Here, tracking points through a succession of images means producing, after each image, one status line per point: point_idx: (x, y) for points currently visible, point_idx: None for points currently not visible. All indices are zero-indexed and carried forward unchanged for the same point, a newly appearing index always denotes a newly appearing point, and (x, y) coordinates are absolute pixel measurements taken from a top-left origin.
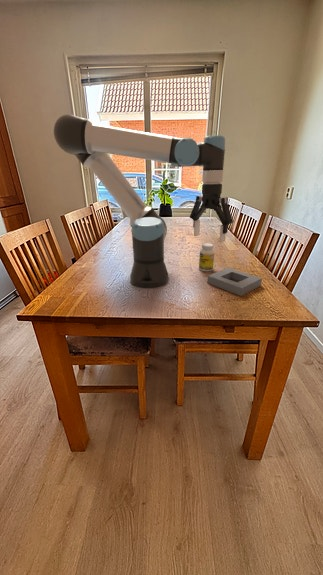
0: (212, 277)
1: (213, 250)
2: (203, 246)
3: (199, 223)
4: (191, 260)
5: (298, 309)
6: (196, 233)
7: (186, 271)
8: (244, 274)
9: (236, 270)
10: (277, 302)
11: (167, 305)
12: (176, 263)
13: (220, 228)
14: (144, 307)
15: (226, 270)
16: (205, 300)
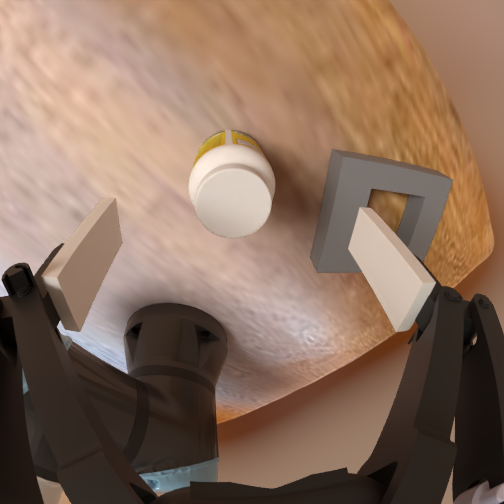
0: (335, 272)
1: (265, 172)
2: (227, 235)
3: (73, 260)
4: (105, 123)
5: (486, 232)
6: (113, 241)
7: (190, 233)
8: (411, 184)
9: (380, 166)
10: (465, 232)
11: (298, 367)
12: (98, 201)
13: (386, 312)
14: (271, 386)
15: (350, 191)
16: (349, 320)
